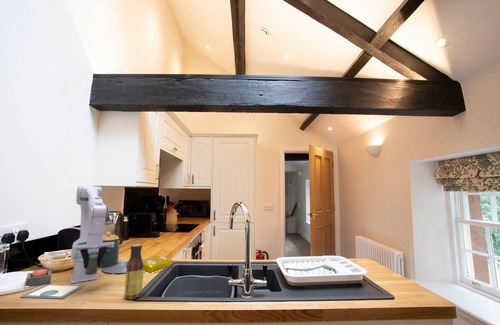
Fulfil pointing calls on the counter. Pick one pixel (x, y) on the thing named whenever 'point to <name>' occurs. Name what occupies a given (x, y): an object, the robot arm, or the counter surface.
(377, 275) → the counter surface
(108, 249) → the canister
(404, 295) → the counter surface
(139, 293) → the sauce bottle
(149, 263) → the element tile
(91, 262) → the dark piece
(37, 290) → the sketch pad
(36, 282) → the button housing
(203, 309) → the counter surface
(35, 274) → the button
